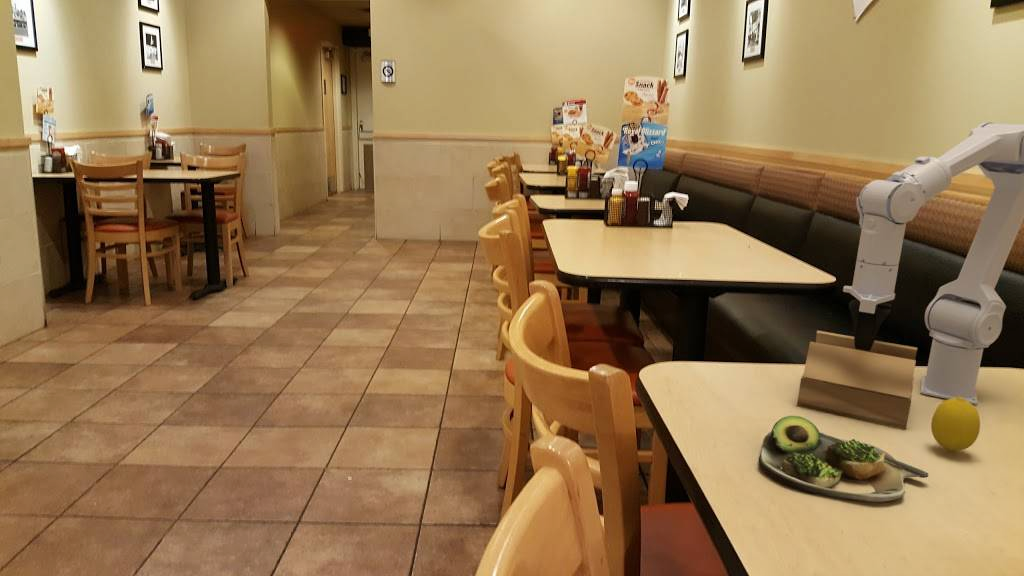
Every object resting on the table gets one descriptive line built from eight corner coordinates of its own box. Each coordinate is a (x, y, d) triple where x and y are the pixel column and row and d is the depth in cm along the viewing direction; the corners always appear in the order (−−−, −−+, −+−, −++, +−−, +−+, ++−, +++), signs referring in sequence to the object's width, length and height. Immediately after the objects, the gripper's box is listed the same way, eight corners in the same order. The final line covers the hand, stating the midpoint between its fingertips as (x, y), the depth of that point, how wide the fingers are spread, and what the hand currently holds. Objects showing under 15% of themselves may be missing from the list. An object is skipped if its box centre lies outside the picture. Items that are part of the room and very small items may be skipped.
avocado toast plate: (920, 461, 98) (926, 428, 97) (934, 526, 82) (942, 488, 81) (766, 430, 105) (771, 400, 104) (752, 484, 89) (757, 449, 88)
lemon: (980, 464, 97) (992, 407, 95) (934, 458, 98) (945, 402, 96) (964, 446, 102) (975, 392, 100) (921, 441, 103) (931, 387, 101)
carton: (808, 383, 124) (812, 358, 123) (908, 404, 117) (913, 377, 116) (796, 405, 114) (800, 378, 113) (905, 429, 107) (911, 400, 106)
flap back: (814, 356, 123) (815, 354, 123) (911, 374, 116) (912, 372, 117) (816, 332, 120) (817, 330, 120) (916, 350, 113) (917, 347, 113)
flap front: (810, 342, 114) (810, 341, 114) (915, 361, 107) (915, 360, 107) (803, 377, 113) (803, 376, 112) (909, 398, 106) (909, 397, 106)
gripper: (853, 251, 118) (840, 333, 122) (843, 265, 106) (828, 355, 109) (902, 258, 115) (887, 341, 118) (897, 272, 103) (881, 365, 106)
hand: (862, 348), depth 114 cm, fingers closed
